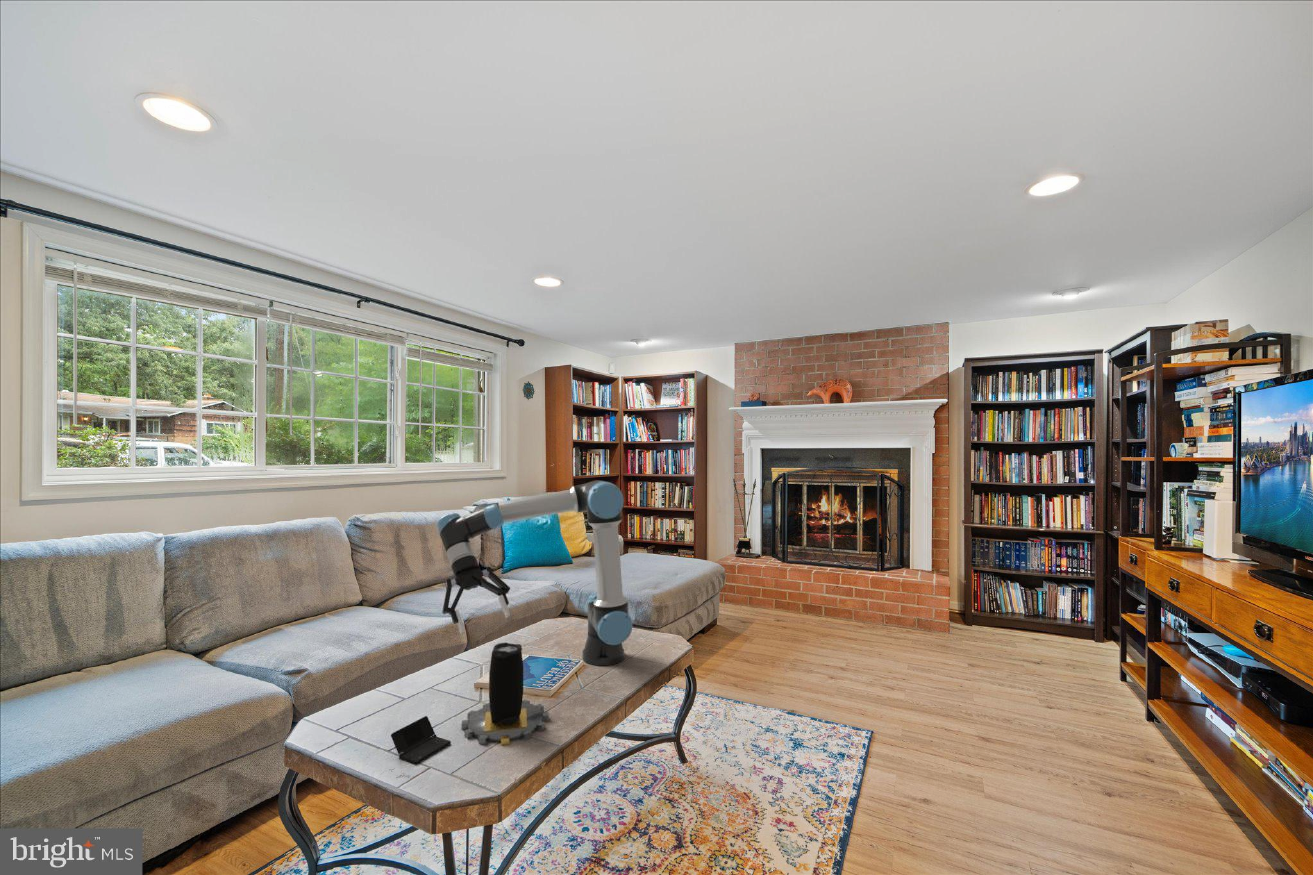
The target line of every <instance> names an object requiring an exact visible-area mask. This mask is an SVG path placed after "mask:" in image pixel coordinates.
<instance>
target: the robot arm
mask: <svg viewBox="0 0 1313 875" xmlns="http://www.w3.org/2000/svg"><path fill="white" fill-rule="evenodd" d="M624 502H625V501H624V495H623V493H622V491H621V489H620V488H619V487H618V486H617V485H615V484H614V483H612V482H610V481H605V480H600V479H598V480H597V479H596V480H592V481H590V482H586V483H583V484H578V485H573V486H571V488H570V489H567V490H561V491H556V492H549V493H544V494H538V495H532V496H526V497H520V498H516V499H510V500H504V501H503V500H502V501H499V502H492V503H482V504H479V505H477V506H476V507H475V508H474V509H473V511H472V512H471V513H469V514H467V515H464V516H461V515H460V514H459V513H458V512H457V513H456V512H452V513H447V514H445V515H443V516H442V517H440V518H439V519H438V521H437V524H436V526H437V528H438V531H439V533H438V534H439V536H440V539H441V542H442V545H443V547H444V550H445V552H446V555H447V557H448V561H449V563H450V566H451V570H452V573H453V576H454V578H453V579H452V578H447V579H446V582H445V590H446V591H445V594H444V600H443V607H442V614H443V615H446V614H448V615H450V617H451V620H452V623H453V624H454V625H456V624H457V627H458V631H459V632H460V635H463V634H464V633H465V632H466V628H465V626H464V623H463V620H462V616H461V614H460V612H459V609H456V607H457V606H458V603H459V600H460V599H461V596H462V595H463V592H464V590H465V591H470V590H471V589H476V588H478V587H480V588H483V589H486V590H487V591H488V592H491V593H493V594H494V595H496V596H498V601H499V604H500V607H501V610H502V613H503V615H504V618H505V619H508V618H509V617H510V615H511V613H510V611H509V607H508V606H509V605H510V604H509V603H510V602H509V599H508V596H507V594H509V593H510V590H511V587H510V586H509V585H507V583H506V582H504V581H503V580H502V579H501V578H500V576H498V575H497V574H496V573H495V572H494V571H493V569H492V567H491V566H488V567H487V568H486V569H483V570H481V568H480V566H479V565H480V564H479V562H478V560H477V558H476V556H475V552H474V548H473V546H472V545H471V541H470V540H471V539H474V538H476V537H477V536H481V535H482V534H485V533H487V532H490V531H493V530H496V529H497V528H499V527H501V526H503V525H504V524H507V523H513V522H517V521H518V522H519V521H523V520H530V519H535V518H541V517H547V516H551V515H557V514H562V513H567V512H574V513H576V514H578V513H585V512H586V518H587V524H588V525H589V526H590V527H592V536H593V538H592V539H593V548H594V549H593V551H594V563H595V564H594V566H595V567H594V568H595V580H596V592H597V593H593V594H590V595H589V596H588V601H587V637H586V641H585V643H584V648H583V650H582V660H583V661H584V662H585V663H587V664H590V665H594V666H610V665H611V666H612V665H616V664H619V663H620V662H623V661H624V660H625V649H624V647H623V643H624V642H625V641H626V640H628V638H629V637H630V636H631V634H632V631H633V621H632V618H631V616H630V615H629V601H628V598H627V597H626V596H624V594H623V580H622V579H623V578H622V568H621V567H622V566H621V563H622V562H621V551H620V538H619V525H620V523H621V522H622V521H623V515H622V509H623V508H624V507H623V506H624ZM483 576H485V577H487V578H488V579H489V580H490V581H491V582H490V581H488V580H487V579H486V578H484V577H483ZM455 584H456V586H458V587H459V589H458V591H457V594H456V595H455V598H454V600H453V602H452V604H451V606H449V604H450V599H451V594H452V588H453V587H454V585H455ZM455 609H456V610H455Z"/></svg>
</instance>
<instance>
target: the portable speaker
mask: <svg viewBox="0 0 1313 875" xmlns="http://www.w3.org/2000/svg"><path fill="white" fill-rule="evenodd" d="M522 651H523V647H522V644H519V643H517V644H516V643H509V642H501V643H497V644H495V645H494V646H493V650H492V651H491V655H490V656H491V657H490V666H489V676H488V677H489V678H488V680H489V681H488V698H489V699H488V700H489V702H488V703H490V714H491V721H492V722H493V721H498V722H501V723H502V724H503V725H504V726H505V725H509V724H513V723H515V722H516V721H517V719H518V717H519V716H520V715H521V707H522V701H523V700H524V699H523V698H524V662H523V660H524V659H523V652H522Z"/></svg>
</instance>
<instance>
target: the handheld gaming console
mask: <svg viewBox="0 0 1313 875" xmlns="http://www.w3.org/2000/svg"><path fill="white" fill-rule="evenodd" d="M390 737H391V740H392V743H393V745H394V747H395V749H396V751H397V754H398V759H399V760H402V761H405V762H408V763H410V764H413V765H419V764H420V763H422V762H423V761H425V760H427V759H428V758H431V757H432V756H434V755H435V754H438V753H439V752H441V751H442V750H444V749H446V748H447V747H449V746H451V743H452V742H451V740H448V739H445V738H442V737H439V736H437V734H436V732H435V730H434V728H433V726H432V724H431V722H430V720H429V716H427V715H425V716H423V717H421V718H419V719H418V720H415V721H414V722H412V723H410V724H408V725H405V726H403V727H401V728H400V729H398V730H396V731H394V732H392V733H391V734H390Z"/></svg>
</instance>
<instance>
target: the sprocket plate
mask: <svg viewBox="0 0 1313 875" xmlns="http://www.w3.org/2000/svg"><path fill="white" fill-rule="evenodd" d="M522 700H523V701H522V707H521V715H520V716H519V717H518V719H517V721H516V722H515V723H513V724H509V725H505V726H504V725H503V724H502V723H501V722H498V721H493V722H492V721H491V714H490V702H488V703H485V704H483V705H482V707H481V708H479V709H478V710H470V711H469V712H468V713H467V719H465V720H464V719H463V720H461V730H464V731H463V732H464V735H463V736H464V738H466V739H467V740H469V739H472V738H474V739H477V740H478V741H477V742H478V744H479V745H483V746H484V745H485V746H486V745H487V744H488V743H500V745H501V746H503V745H504V746H505V745H509V744H510V742H512V741H517V740H520V739H522V740H523V741H527V740H530V739H532V734H534V733H536V732H543V731H544V730H545V729H546V723H547V722H548V721H550V720H549V718H550V717H549V716H550V714H549V711H547V712H544V711H545V707H544V705H542V704H541V703H539V704H537V705H535V704H532V703H531V700H527V699H522Z"/></svg>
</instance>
